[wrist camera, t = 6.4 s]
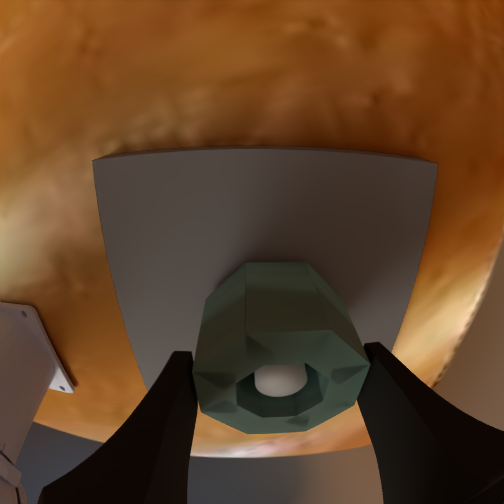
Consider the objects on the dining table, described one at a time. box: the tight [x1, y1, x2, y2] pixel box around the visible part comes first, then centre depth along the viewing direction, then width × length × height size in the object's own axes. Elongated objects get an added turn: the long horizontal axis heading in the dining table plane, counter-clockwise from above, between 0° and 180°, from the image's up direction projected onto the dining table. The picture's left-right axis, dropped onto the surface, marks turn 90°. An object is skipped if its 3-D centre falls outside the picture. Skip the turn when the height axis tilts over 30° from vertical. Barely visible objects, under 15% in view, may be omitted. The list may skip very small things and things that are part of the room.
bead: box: [192, 262, 370, 434], centre depth 11 cm, size 6×6×4 cm
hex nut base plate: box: [92, 146, 438, 404], centre depth 12 cm, size 14×14×6 cm
